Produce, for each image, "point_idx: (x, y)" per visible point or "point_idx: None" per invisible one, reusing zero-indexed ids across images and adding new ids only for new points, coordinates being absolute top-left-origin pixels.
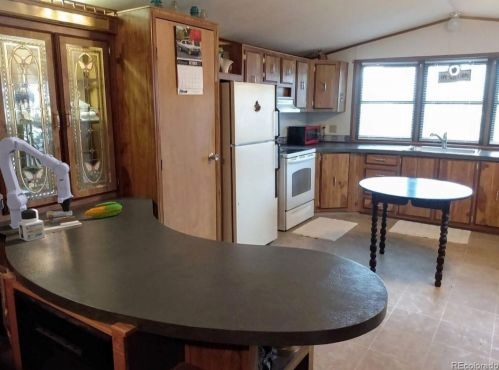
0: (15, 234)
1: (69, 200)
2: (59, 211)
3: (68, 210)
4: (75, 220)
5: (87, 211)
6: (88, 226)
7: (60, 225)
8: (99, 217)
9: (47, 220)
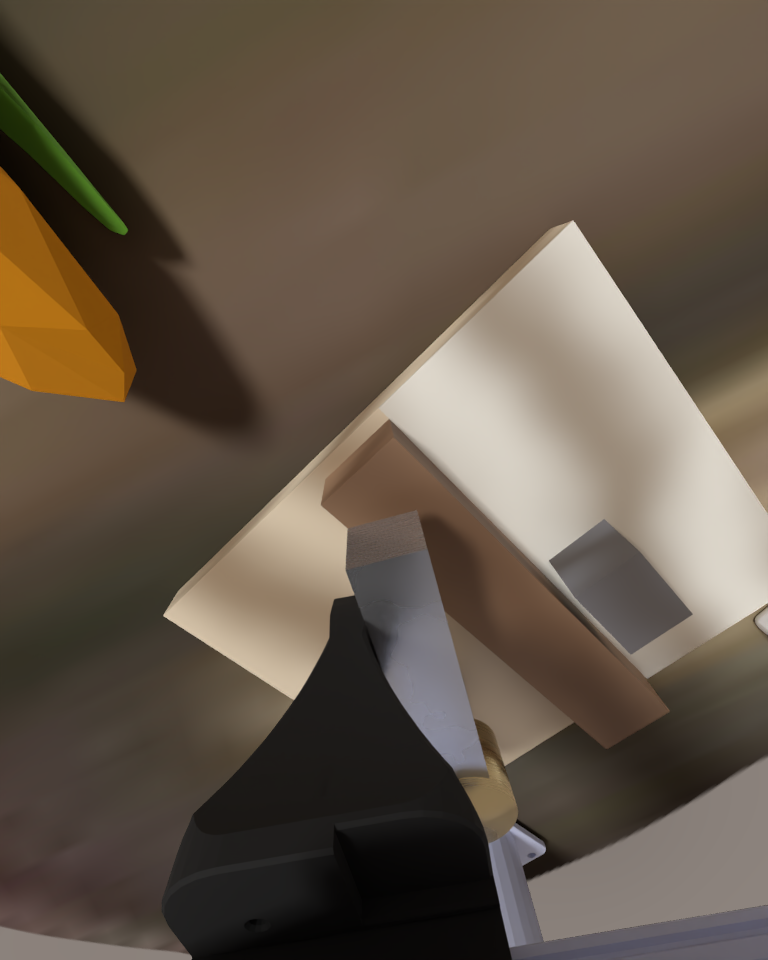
0: (699, 761)
1: (349, 853)
2: None
3: (364, 629)
4: (396, 427)
5: (62, 351)
6: (542, 117)
7: (619, 512)
8: (22, 124)
9: None
